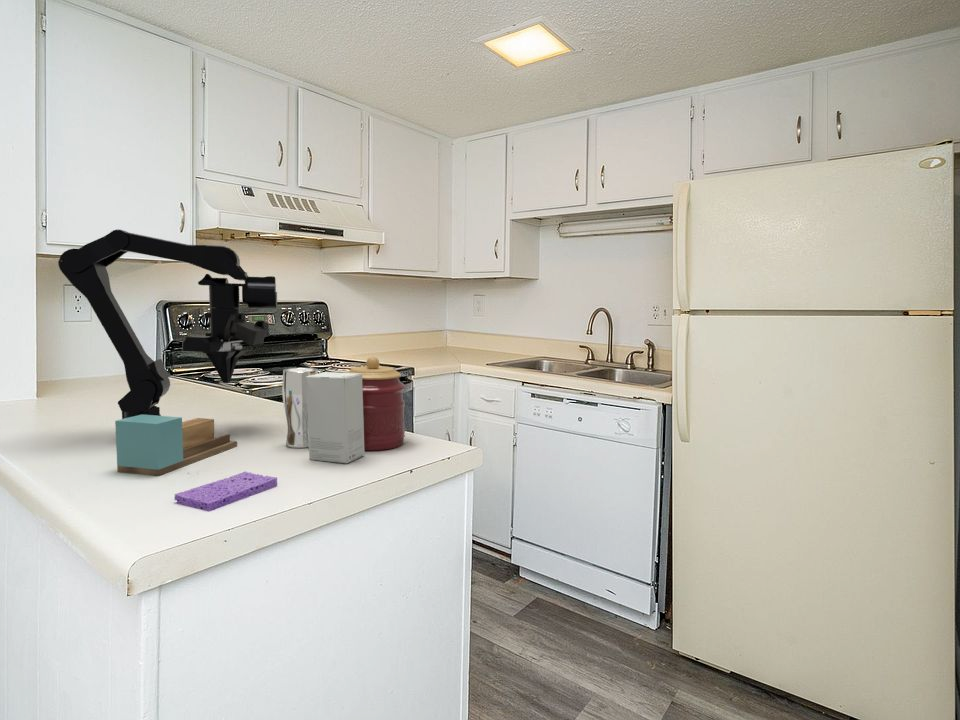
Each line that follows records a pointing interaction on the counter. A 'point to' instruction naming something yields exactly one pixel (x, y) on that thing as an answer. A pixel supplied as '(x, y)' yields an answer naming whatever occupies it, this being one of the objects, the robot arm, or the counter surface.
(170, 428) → the end cap
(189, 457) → the board
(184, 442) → the wooden block
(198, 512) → the counter surface
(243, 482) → the sponges
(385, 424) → the canister
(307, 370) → the silver tall cylinder
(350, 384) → the skincare box
